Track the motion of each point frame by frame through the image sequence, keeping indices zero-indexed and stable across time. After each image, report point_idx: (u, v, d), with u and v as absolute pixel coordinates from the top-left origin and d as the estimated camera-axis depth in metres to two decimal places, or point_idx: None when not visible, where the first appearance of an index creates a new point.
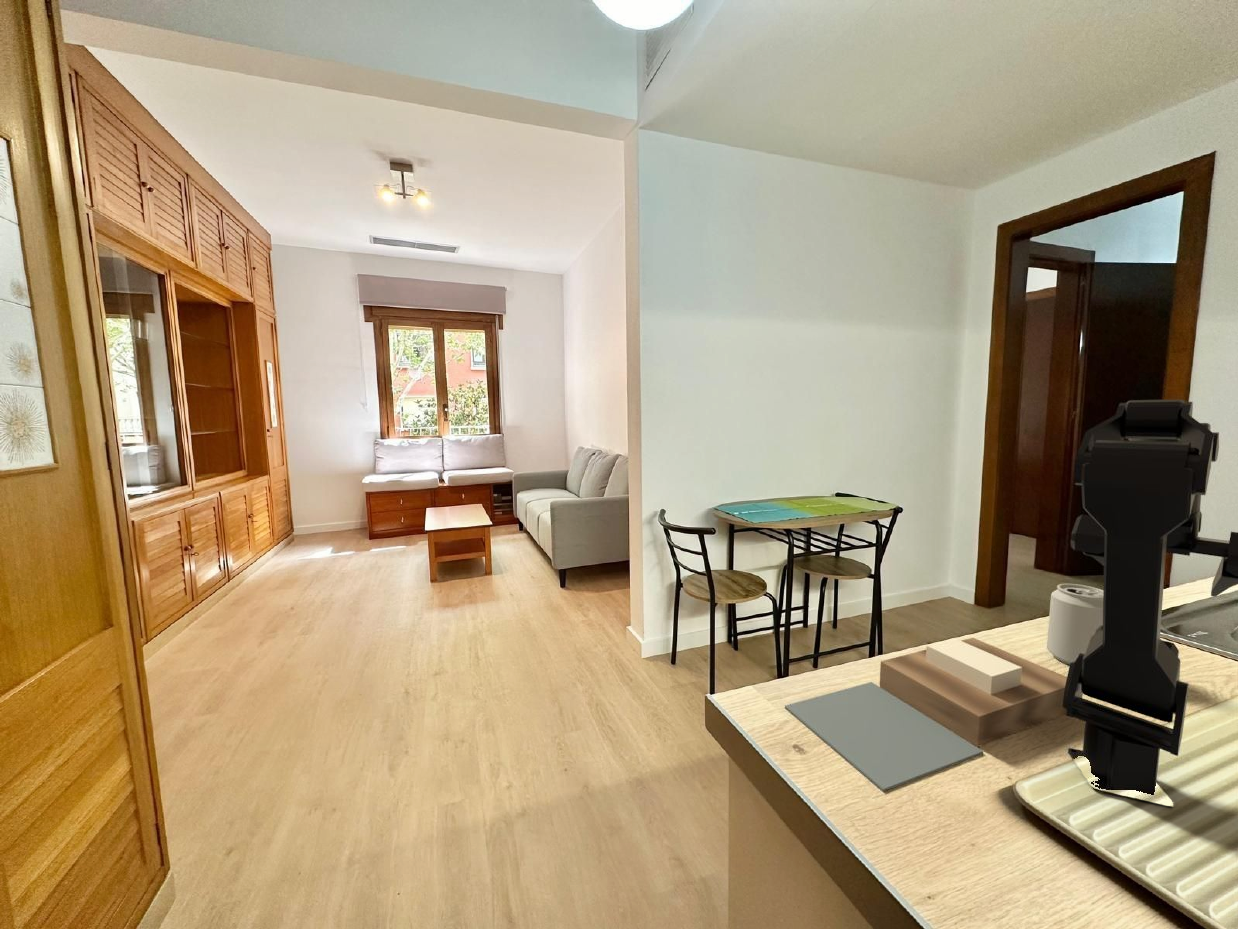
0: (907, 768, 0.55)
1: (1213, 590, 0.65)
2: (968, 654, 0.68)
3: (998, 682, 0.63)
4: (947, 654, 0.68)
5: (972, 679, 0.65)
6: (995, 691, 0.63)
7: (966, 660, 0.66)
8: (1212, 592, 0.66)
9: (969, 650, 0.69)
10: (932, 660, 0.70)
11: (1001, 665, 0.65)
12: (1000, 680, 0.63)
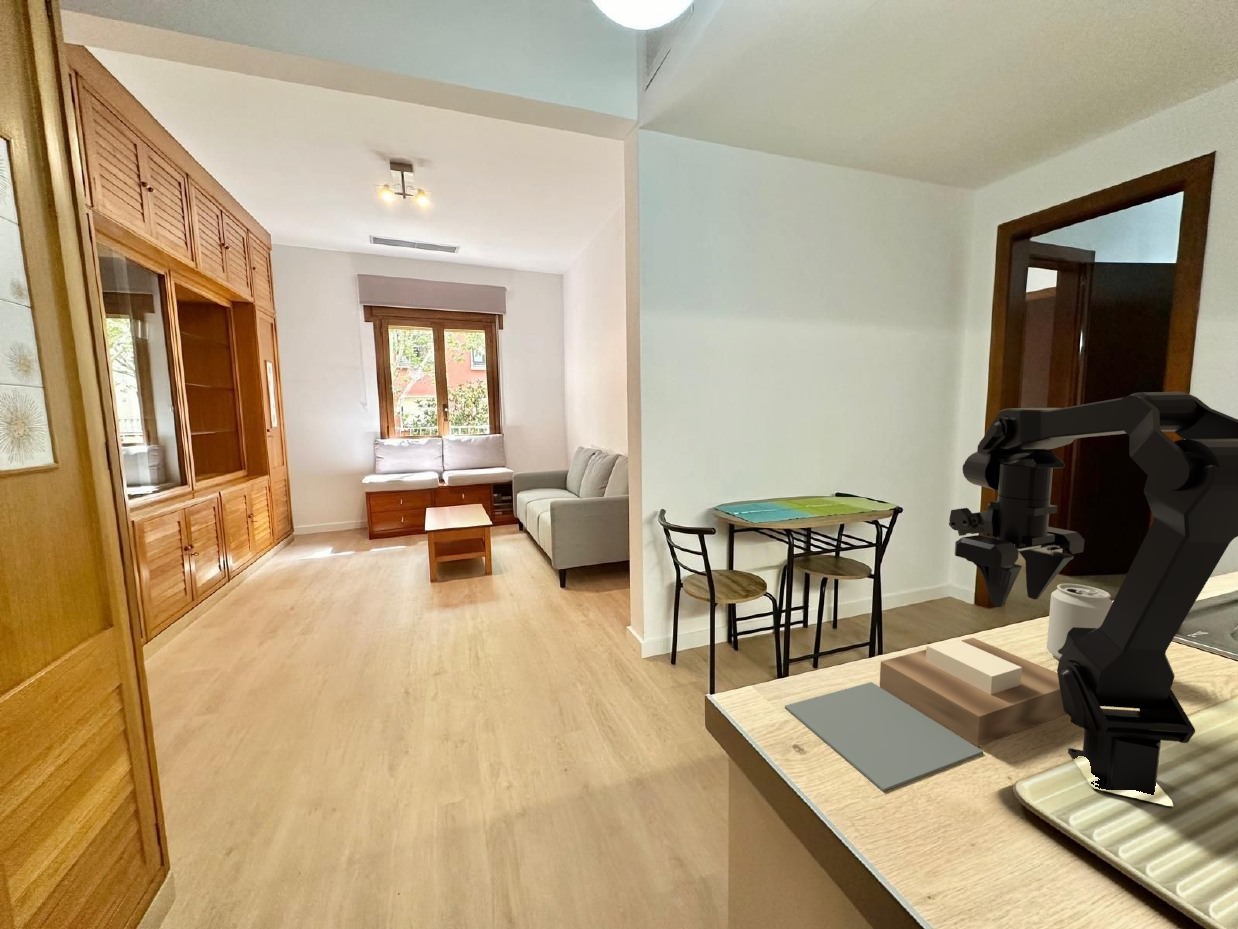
0: (907, 768, 0.55)
1: (1043, 587, 0.70)
2: (968, 654, 0.68)
3: (998, 682, 0.63)
4: (947, 654, 0.68)
5: (972, 679, 0.65)
6: (995, 691, 0.63)
7: (966, 660, 0.66)
8: (1041, 591, 0.70)
9: (969, 650, 0.69)
10: (932, 660, 0.70)
11: (1001, 665, 0.65)
12: (1000, 680, 0.63)
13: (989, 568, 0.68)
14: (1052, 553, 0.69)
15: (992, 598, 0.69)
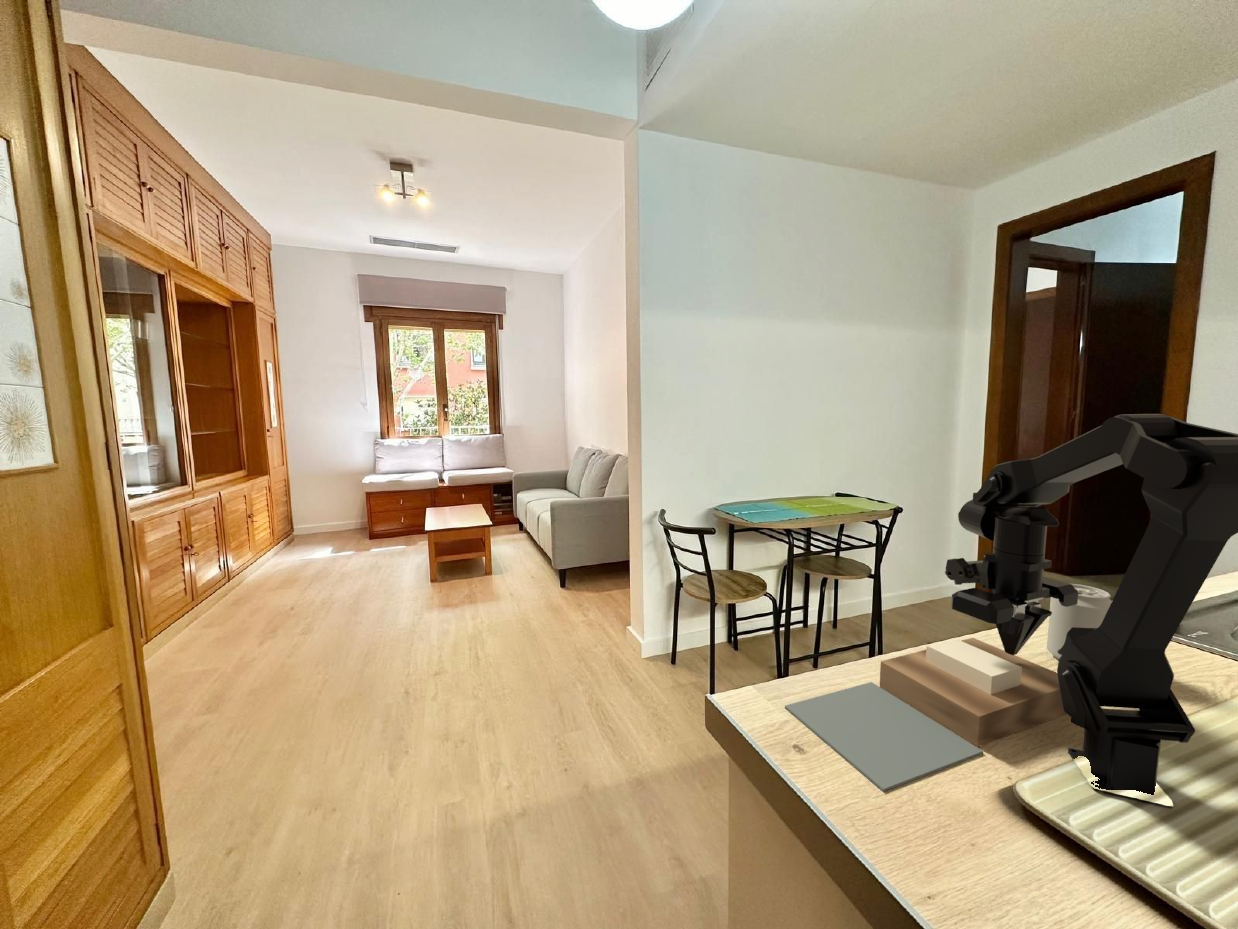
0: (907, 768, 0.55)
1: (1022, 643, 0.69)
2: (968, 654, 0.68)
3: (998, 682, 0.63)
4: (947, 654, 0.68)
5: (972, 679, 0.65)
6: (995, 691, 0.63)
7: (966, 660, 0.66)
8: (1019, 647, 0.69)
9: (969, 650, 0.69)
10: (932, 660, 0.70)
11: (1001, 665, 0.65)
12: (1000, 680, 0.63)
13: None
14: (1031, 609, 0.69)
15: (1005, 646, 0.71)
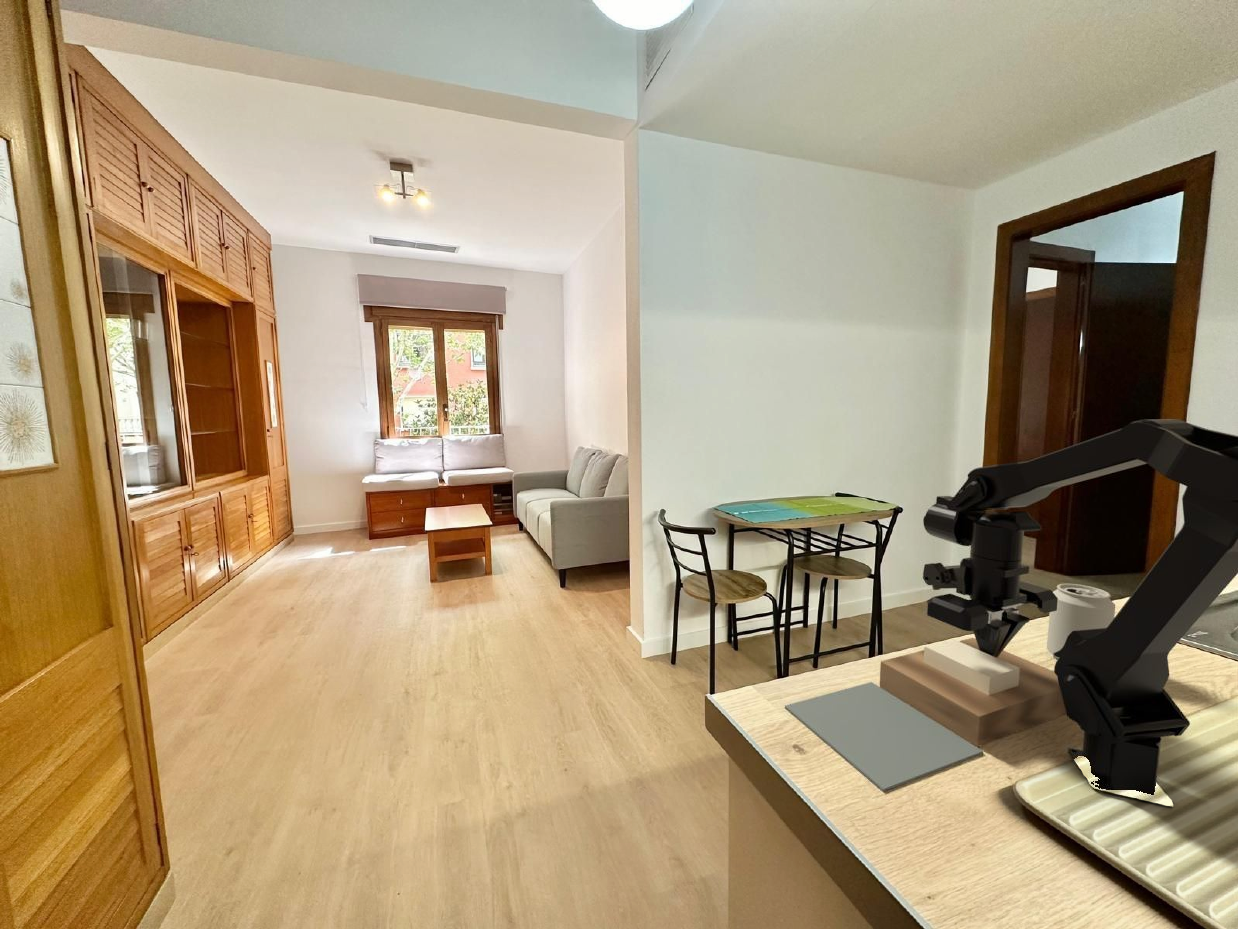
0: (907, 768, 0.55)
1: (999, 651, 0.68)
2: (966, 655, 0.68)
3: (996, 682, 0.63)
4: (945, 654, 0.68)
5: (970, 680, 0.64)
6: (993, 692, 0.63)
7: (964, 661, 0.66)
8: (997, 654, 0.68)
9: (967, 650, 0.69)
10: (930, 661, 0.70)
11: (999, 665, 0.65)
12: (998, 680, 0.63)
13: None
14: (1008, 615, 0.67)
15: None
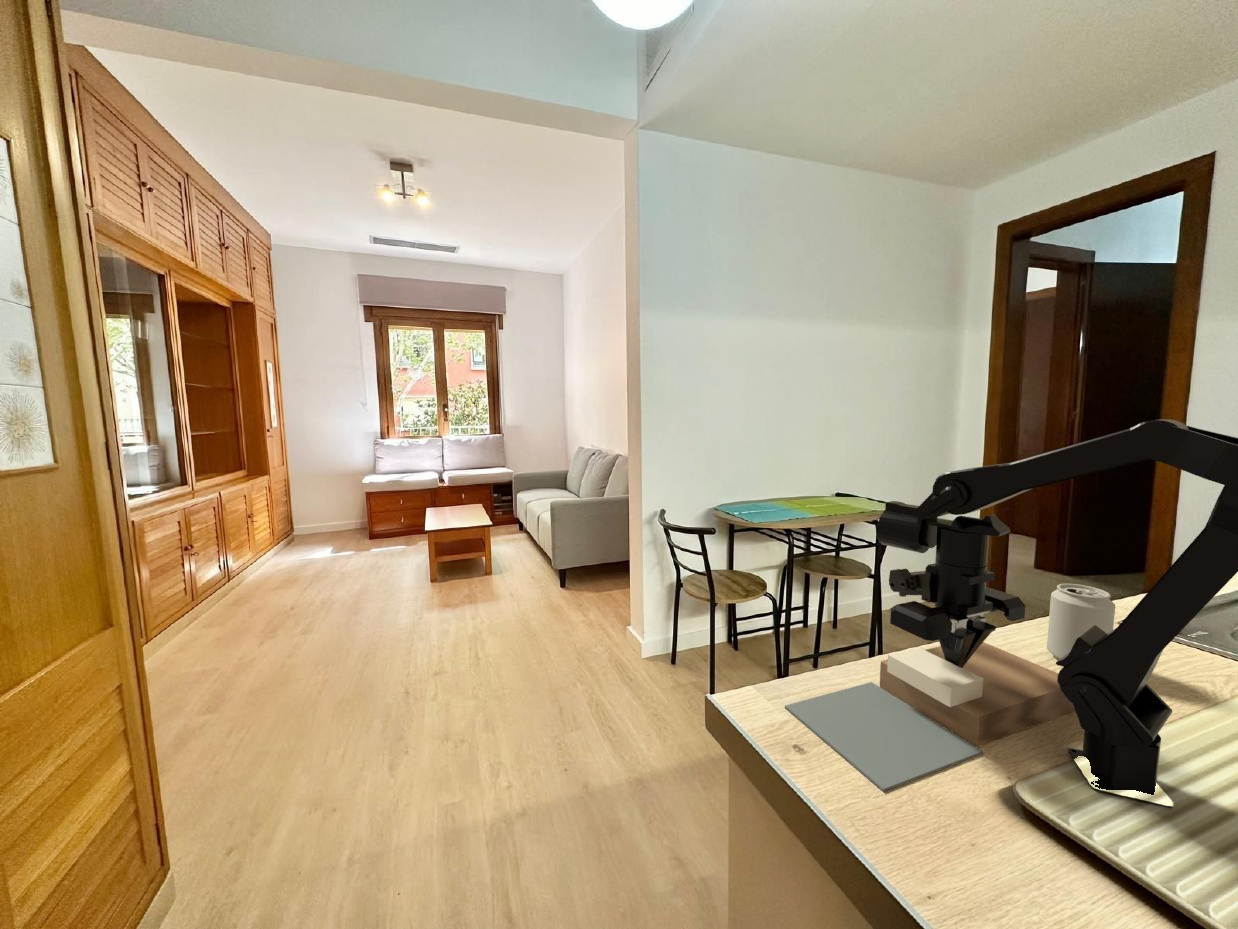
0: (907, 768, 0.55)
1: (965, 660, 0.65)
2: (929, 664, 0.65)
3: (958, 694, 0.60)
4: (908, 664, 0.66)
5: (932, 691, 0.62)
6: (955, 703, 0.60)
7: (926, 671, 0.64)
8: (962, 664, 0.65)
9: (931, 660, 0.67)
10: (893, 670, 0.67)
11: (962, 676, 0.62)
12: (960, 692, 0.60)
13: None
14: (974, 624, 0.65)
15: None
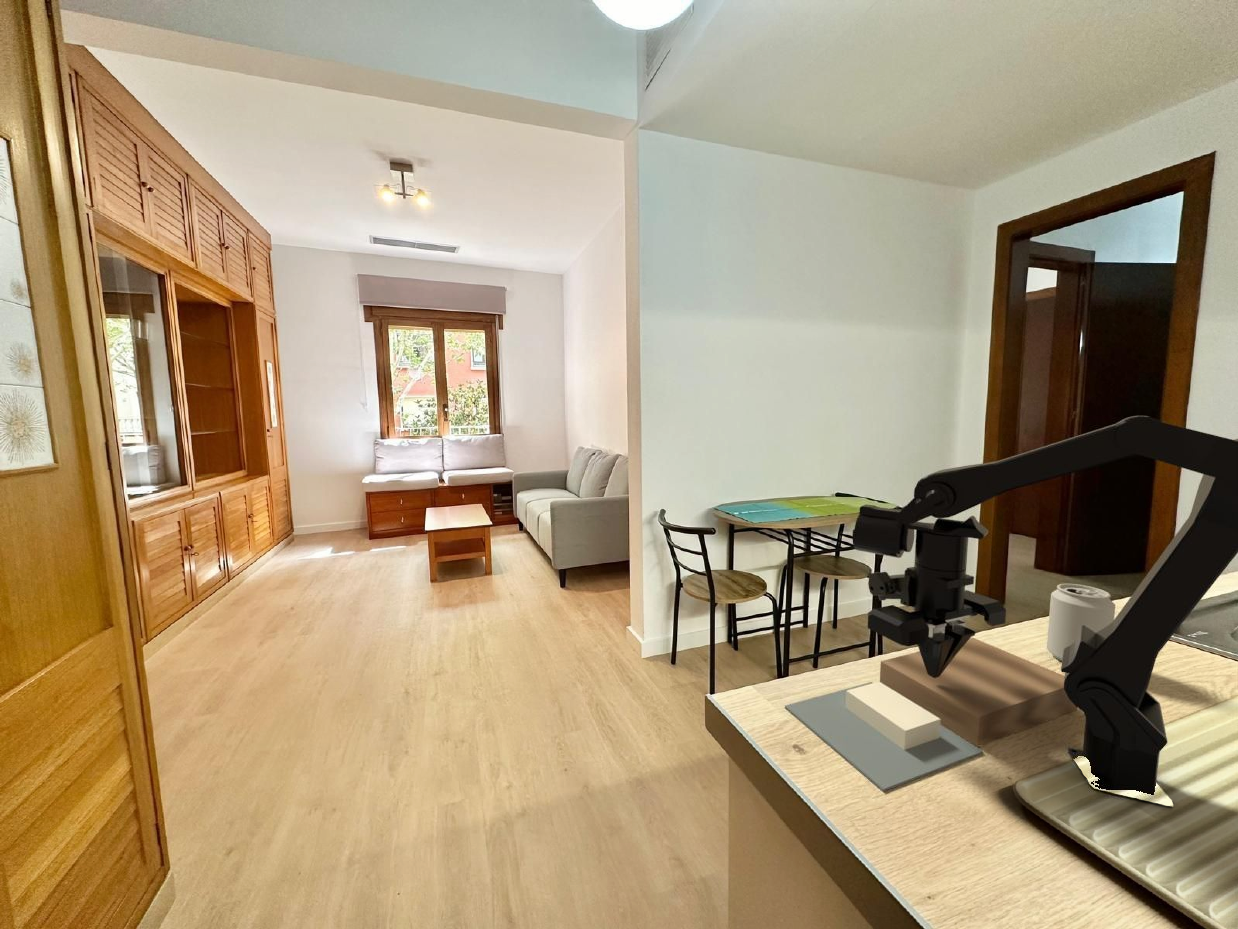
0: (907, 768, 0.55)
1: (944, 666, 0.64)
2: None
3: (931, 732, 0.59)
4: None
5: None
6: (935, 722, 0.59)
7: None
8: (941, 670, 0.64)
9: None
10: None
11: None
12: (929, 734, 0.59)
13: None
14: (953, 628, 0.63)
15: (927, 668, 0.65)
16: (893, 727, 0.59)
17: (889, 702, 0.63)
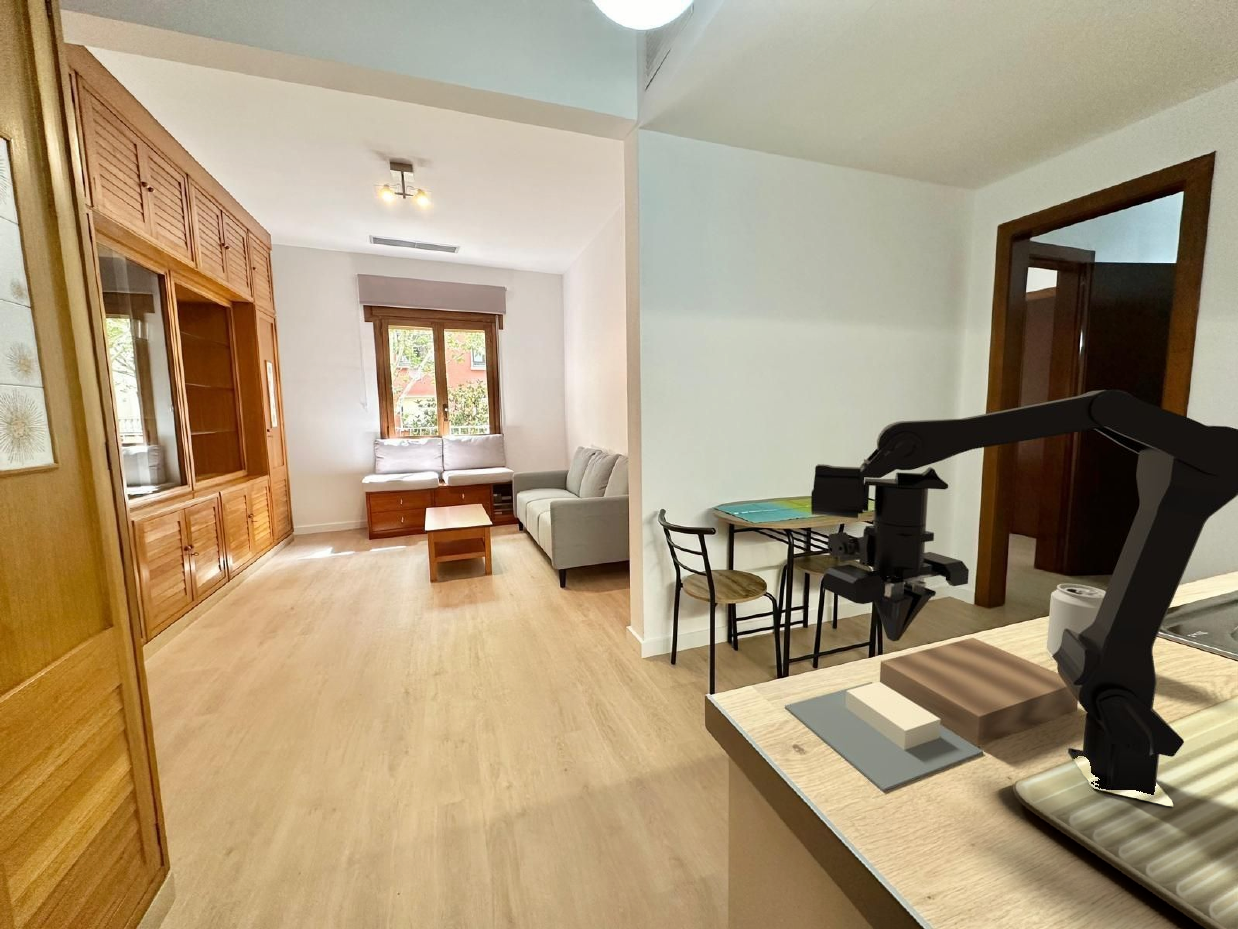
0: (907, 768, 0.55)
1: (903, 628, 0.61)
2: None
3: (931, 732, 0.59)
4: None
5: None
6: (935, 722, 0.59)
7: None
8: (901, 632, 0.61)
9: None
10: None
11: None
12: (929, 734, 0.59)
13: (882, 598, 0.61)
14: (913, 589, 0.60)
15: (886, 631, 0.62)
16: (893, 727, 0.59)
17: (889, 702, 0.63)
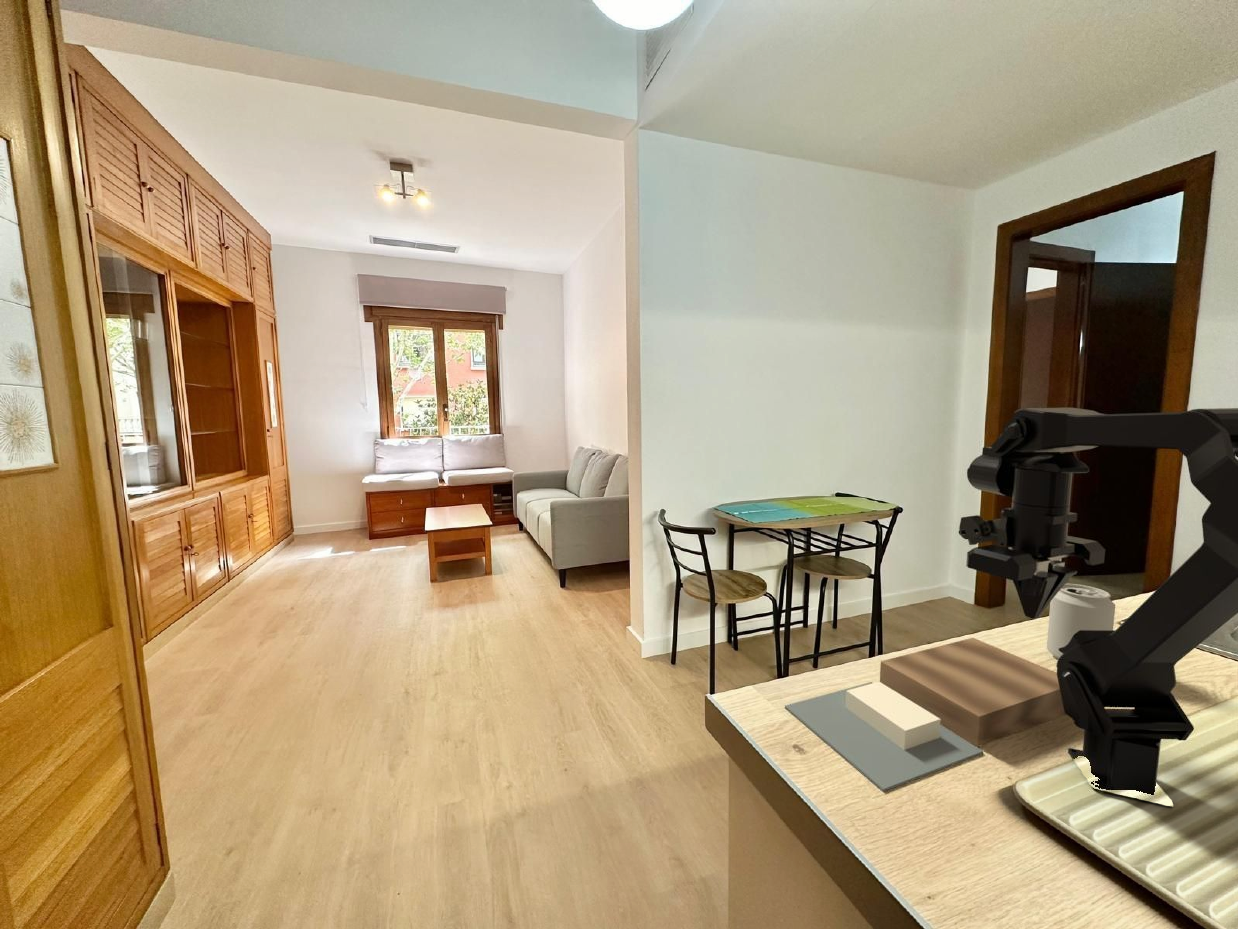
0: (907, 768, 0.55)
1: (1044, 605, 0.63)
2: None
3: (931, 732, 0.59)
4: None
5: None
6: (935, 722, 0.59)
7: None
8: (1041, 609, 0.64)
9: None
10: None
11: None
12: (929, 734, 0.59)
13: None
14: (1053, 567, 0.63)
15: (1025, 609, 0.65)
16: (893, 727, 0.59)
17: (889, 702, 0.63)
